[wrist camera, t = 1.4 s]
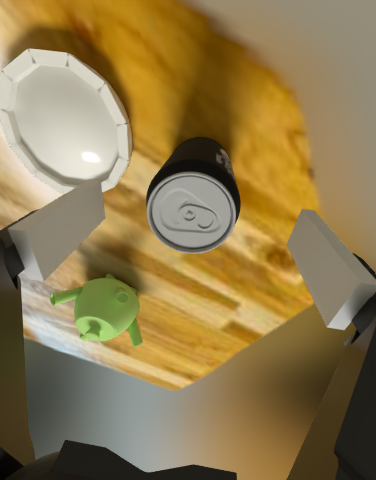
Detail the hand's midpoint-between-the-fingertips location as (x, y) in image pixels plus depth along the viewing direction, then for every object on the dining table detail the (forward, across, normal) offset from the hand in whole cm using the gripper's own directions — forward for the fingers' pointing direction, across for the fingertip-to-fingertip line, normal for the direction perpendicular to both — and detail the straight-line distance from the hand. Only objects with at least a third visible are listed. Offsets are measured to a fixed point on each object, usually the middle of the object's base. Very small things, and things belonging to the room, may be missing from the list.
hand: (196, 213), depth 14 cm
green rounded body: (+11, -12, -21) cm, 26 cm away
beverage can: (+11, -1, 0) cm, 11 cm away
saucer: (+11, -14, +2) cm, 18 cm away
